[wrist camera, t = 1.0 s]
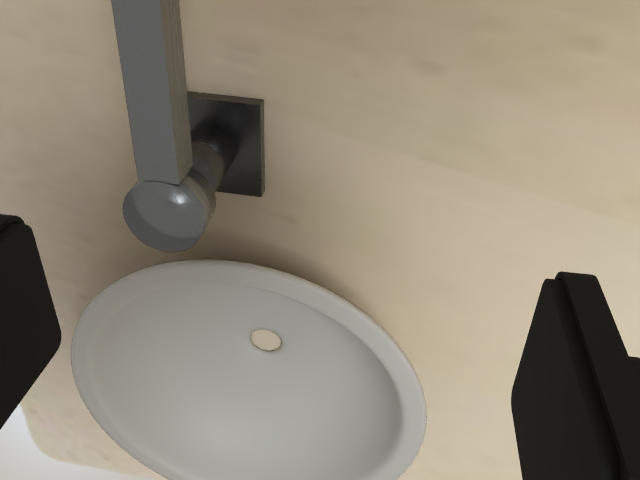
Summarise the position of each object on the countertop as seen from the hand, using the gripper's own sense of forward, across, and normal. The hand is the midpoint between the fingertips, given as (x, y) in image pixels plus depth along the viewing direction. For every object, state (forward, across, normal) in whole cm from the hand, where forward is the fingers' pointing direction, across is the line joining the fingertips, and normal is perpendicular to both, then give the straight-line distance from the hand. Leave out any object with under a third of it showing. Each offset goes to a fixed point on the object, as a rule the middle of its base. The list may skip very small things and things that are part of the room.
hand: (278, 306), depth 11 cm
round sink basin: (+25, +6, +24) cm, 35 cm away
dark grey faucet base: (+24, +9, +8) cm, 27 cm away
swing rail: (+18, +9, +1) cm, 20 cm away
